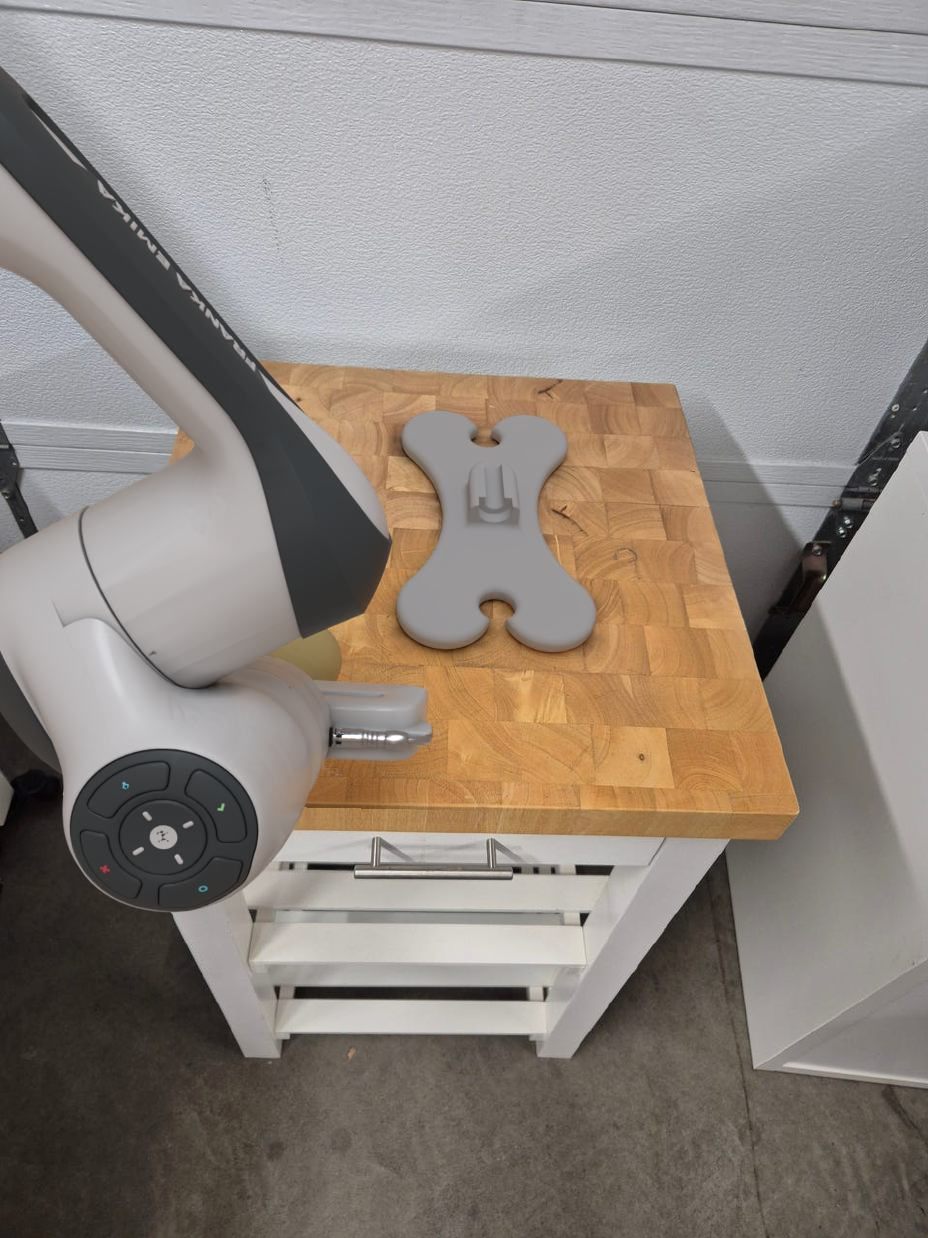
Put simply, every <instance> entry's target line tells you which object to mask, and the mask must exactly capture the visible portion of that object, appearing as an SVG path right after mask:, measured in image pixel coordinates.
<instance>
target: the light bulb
mask: <svg viewBox="0 0 928 1238" xmlns="http://www.w3.org/2000/svg"><path fill="white" fill-rule="evenodd" d="M266 656H271V657H275V658H279V659H282V660H285V661H287V662H289V663H291V664H293V665H295V666H296V667H298V668H300V669H301V670H302V671H304V672H305V673H306V674H307V675H308V676H309V677H311V679H312V680H323V681H337V680H338V679H339V675H340V673H341V670H342V661H343V660H342V659H343V658H342V651H341V648H340V645H339V642H338V641H337V639H336V637H335V636H334V634H333V633H332V631H330V630H329V628H328V629H326V630H323V631H321V632H319V633H316V634H314V635H312V636H309V637H307V638H305V639H303V638H302V637H300V638H298V639H296V640H294V641H292V642H290V643H288V644H287V645H285V646H283V647H281V648H279V649H277V650H275V651H273V652H271V653H269V654H268V655H266Z"/></svg>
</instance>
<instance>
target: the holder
mask: <svg viewBox="0 0 928 1238" xmlns="http://www.w3.org/2000/svg"><path fill="white" fill-rule="evenodd" d="M478 435H479V427H477V425H476V424H475V423H474V422H473V421H472V420H471V419H469V418H468V417H466V416H464V415H462V414H460V413H457V412H453V411H450V410H429V411H428V410H427V411H425V412H422V413H421V412H420V413H418V414H416V415H414V416H413V417H412V418H409V420H408V421H407V422H406V423H405V424H404V427H403V428H402V431H401V445H402V449H403V451H404V452H405V454H406V455H407V456H408V457H409V458H410V459H411V460H412V461H413V462H414V463H415V464H416V465H417V466H418V467H419V468H420V469H421V470H422V471H423V472H424V474H425V475H426V476H427V477H428V478H429V480H430V483H432V486H433V487H434V489H435V491H436V493H437V496H438V498H439V502H440V507H441V515H442V523H441V530H440V532H439V533H440V534H439V537H438V540H437V542H436V545H435V547H434V549H433V550H432V552H431V553H430V555H429V557H428V558H427V560H426V561H425V562H424V564H423V565H422V566H421V567H420V568H419V569H418V570H417V572H415V574H413V576H412V577H410V579H408V580H407V581H405V583H404V584H403V585H402V587H401V588H400V590H399V592H398V594H397V598H396V605H395V606H396V607H395V608H396V609H395V610H396V611H395V612H396V617H397V621H398V623H399V625H400V626H401V628H402V630H403V631H404V632H405V634H406V635H408V636H409V637H410V638H411V639H412V640H414V641H415V642H417V643H418V644H421V645H423V646H426V647H429V648H432V649H437V650H455V649H460V648H463V647H466V646H469V645H471V644H472V643H475V642H477V640H479V639H480V638H481V637H482V636H483V635H484V634H485V633H486V631H487V630H488V628H489V627H490V623H491V618H490V617H488V616H486V615H485V614H484V613H483V612H482V611H481V609H480V606H481V605H482V604H483V603H484V602H486V601H489V600H499V601H502V602H504V603H507V604H508V605H510V606H511V608H512V609H513V612H514V614H513V615H511V617H509V618H507V619H506V620H505V624H504V626H505V628H506V629H507V631H508V632H509V633H510V635H511V636H512V637H513V638H514V639H516V640H517V641H518V642H520V643H521V644H522V645H524V646H526V647H528V648H530V649H533V650H536V651H540V652H545V653H561V652H567V651H570V650H574V649H575V648H577V647H579V646H580V645H582V644H583V643H585V642H586V641H587V640H588V639H589V637H590V636H591V635H592V633H593V631H594V628H595V625H596V622H597V607H596V604H595V602H594V599H593V598H592V596H591V594H590V593H589V592H588V590H587V589H586V588H585V587H584V586H583V585H582V584H581V583H579V582H578V581H577V580H576V579H575V578H574V577H572V575H570V574H569V572H568V571H567V570H566V569H565V568H564V567H563V566H562V564H561V563H560V562H559V561H558V560H557V558H556V556H555V555H554V554H553V552H552V551H551V549H550V547H549V546H548V544H547V541H546V539H545V537H544V534H543V531H542V528H541V524H540V520H539V508H538V506H539V499H540V494H541V491H542V489H543V487H544V486H545V484H546V482H547V480H548V478H549V477H550V476H551V474H553V472H555V470H556V469H558V467H560V465H562V464H563V462H564V461H565V459H566V457H567V455H568V450H569V442H568V438H567V436H566V434H565V432H564V431H563V429H561V428H560V427H559V426H558V425H557V424H555V423H554V422H553V421H551V420H548V419H546V418H544V417H540V416H536V415H530V414H517V415H511V416H508V417H505V418H503V419H501V420H500V421H498V422H497V423H496V424H495V425H494V426H493V427H492V429H491V432H490V437H491V438H492V439H493V440H495V441H496V442H497V443H499V444H497V445H494V446H489V447H488V446H481V445H479V444H476V443H475V442H473V441H472V440H473V439H475V438H477V437H478Z"/></svg>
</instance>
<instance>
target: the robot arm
mask: <svg viewBox="0 0 928 1238" xmlns="http://www.w3.org/2000/svg"><path fill="white" fill-rule="evenodd" d="M0 268H1V269H3V270H5V271H8V272H11V273H13V274H15V275H17V276H18V277H20V278H22V279H23V280H25V281H27V282H29V283H31V284H33V285H34V286H35V287H37V288H38V289H40V290H41V291H43V292H44V293H45V294H46V295H48V296H49V297H50V298H51V299H53V300H54V302H56V303H57V304H58V305H60V306H61V308H63V309H64V310H65V311H66V312H67V313H68V314H69V315H70V316H71V317H72V318H73V320H75V321H76V323H78V325H79V326H80V327H81V328H82V329H83V330H84V331H85V332H86V333H87V334H88V335H89V336H90V337H91V338H92V339H93V340H94V341H95V342H96V343H97V344H98V345H99V346H100V347H101V349H103V351H104V352H106V353H107V354H108V356H110V358H111V359H112V360H113V361H114V362H115V363H116V364H117V365H118V366H119V367H120V368H121V369H122V370H123V371H124V372H125V373H126V374H127V375H128V377H130V378H131V379H132V380H133V382H135V383H136V384H137V385H138V386H139V388H141V389H142V391H144V393H145V394H146V395H147V396H148V397H149V398H150V399H151V400H152V401H153V402H154V403H155V405H157V406H158V407H159V408H160V409H161V410H162V411H163V412H164V413H165V414H166V415H167V416H168V417H169V419H170V420H171V421H173V423H175V424H176V425H177V427H178V428H179V429H180V430H181V431H182V432H183V433H184V434H185V435H186V436H187V437H188V438H189V439H190V440H191V441H192V442H193V443H194V445H193V447H192V448H191V449H190V450H189V451H188V452H187V453H186V454H184V455H183V456H181V457H180V458H178V459H176V460H174V461H172V462H171V463H169V464H167V465H165V466H163V467H162V468H159V469H158V470H156V471H154V472H152V473H150V474H149V475H147V476H145V477H143V478H141V479H139V480H137V481H136V482H134V483H132V484H130V485H128V486H126V487H124V488H122V489H121V490H119V491H116V492H115V493H112V494H111V495H109V496H107V497H105V498H104V499H101V500H100V501H97V502H96V503H94V504H92V505H86V506H84V507H83V508H80V509H78V510H77V511H74V512H73V513H71V514H69V515H68V516H65V517H63V518H62V519H60V520H57V521H56V522H54V523H52V524H50V525H48V526H46V527H44V528H42V529H40V530H39V531H37V532H35V533H34V534H32V535H30V536H29V537H27V538H25V539H23V540H21V541H19V542H18V543H16V544H14V545H13V546H10V547H9V548H8V549H6V550H4V551H1V552H0V714H1V715H2V716H3V718H4V719H5V721H6V722H7V724H8V725H9V727H10V728H11V729H12V730H13V731H14V733H15V734H16V735H17V737H18V738H19V739H20V740H21V741H22V742H23V743H24V744H25V745H26V746H27V747H28V748H29V750H30V751H31V752H33V754H35V755H36V756H37V758H39V760H41V761H42V762H44V763H45V764H47V765H48V766H49V767H50V768H52V769H53V770H55V771H56V772H57V773H58V774H60V775H62V781H63V782H62V784H63V792H62V793H63V795H62V796H63V797H62V825H63V833H64V837H65V840H66V843H67V846H68V849H69V852H70V854H71V856H72V858H73V860H74V862H75V863H76V865H77V866H78V868H79V869H80V870H81V872H82V874H83V875H84V876H85V877H86V879H87V880H88V881H89V882H90V884H92V885H93V886H94V887H95V888H97V889H98V890H99V891H100V892H102V894H105V895H106V896H108V897H109V898H111V899H113V900H115V901H117V902H119V903H122V904H124V905H127V906H130V907H133V908H136V909H139V910H144V911H150V912H159V913H184V912H192V911H195V910H200V909H205V908H208V907H210V906H211V907H212V906H214V905H217V904H219V903H221V902H224V901H225V900H227V899H230V898H232V897H234V896H235V895H236V894H238V893H239V892H241V891H242V890H244V889H245V888H247V887H248V886H249V885H250V884H251V883H252V882H254V881H255V880H256V879H257V878H258V877H259V876H260V875H261V874H262V873H263V872H264V871H265V869H267V867H268V866H269V865H270V864H271V863H272V862H273V860H275V858H276V856H277V855H278V854H279V853H280V852H281V850H282V849H283V847H284V846H285V844H286V843H287V841H288V839H289V838H290V837H291V835H292V833H293V831H294V830H295V828H296V827H297V824H298V822H299V820H300V819H301V816H302V814H303V811H304V809H305V807H306V804H307V801H308V799H309V794H310V793H311V791H313V788H314V786H315V784H316V782H317V780H318V777H319V775H320V773H321V771H322V769H323V766H324V764H325V762H326V760H327V759H329V760H331V759H332V760H350V761H354V760H355V761H369V762H370V761H373V762H399V761H404V760H408V759H410V758H413V757H414V756H415V755H416V754H417V753H418V752H419V751H420V749H421V748H422V747H423V746H428V745H430V744H431V743H432V740H433V738H434V728H433V726H432V724H431V723H429V722H428V709H429V691H428V690H427V689H426V688H424V687H421V686H417V685H412V684H393V683H377V682H375V683H374V682H358V681H357V682H356V681H340V680H338V681H337V680H336V681H323V680H312V679H311V677H309V676H308V675H307V674H306V673H305V672H304V671H302V670H301V669H300V668H298V667H296V666H295V665H293V664H291V663H289V662H287V661H285V660H282V659H279V658H275V657H271V656H266V655H268V654H269V653H271V652H273V651H275V650H277V649H279V648H281V647H283V646H285V645H287V644H288V643H290V642H292V641H294V640H296V639H298V638H300V637H302V638H303V639H305V638H307V637H309V636H312V635H314V634H316V633H319V632H321V631H323V630H326V629H328V630H329V629H330V628H333V627H336V626H338V625H340V624H342V623H344V622H347V621H349V620H351V619H354V618H356V617H359V616H361V615H363V614H365V612H366V611H367V609H368V607H369V606H370V604H371V602H372V600H373V598H374V596H375V594H376V592H377V590H378V587H379V585H380V583H381V581H382V578H383V575H384V573H385V570H386V568H387V564H388V561H389V558H390V554H391V551H392V547H393V537H392V535H391V534H390V531H389V526H388V521H387V517H386V515H385V511H384V507H383V505H382V503H381V501H380V499H379V496H378V494H377V492H376V491H375V489H374V487H373V485H372V483H371V481H370V480H369V478H368V477H367V475H366V474H365V472H364V471H363V469H362V468H361V467H360V466H359V464H358V463H357V461H356V460H355V458H354V457H353V456H351V454H350V453H349V452H348V451H347V450H346V449H345V448H344V447H343V446H342V444H340V443H339V442H338V441H337V440H336V439H335V438H334V437H333V436H331V434H329V433H328V432H327V431H326V430H324V429H323V428H322V427H321V426H320V425H319V424H318V423H316V422H315V421H314V420H313V419H311V418H310V416H308V414H307V413H306V412H305V411H304V410H303V409H302V408H301V407H300V405H298V403H297V402H295V400H294V399H293V398H292V397H291V396H290V395H289V394H288V393H287V391H286V390H285V389H283V387H282V386H281V385H280V384H279V383H278V382H277V380H275V378H274V377H273V376H272V374H270V373H269V372H268V370H267V369H266V367H264V366H263V364H262V363H261V362H260V361H259V360H258V359H257V357H256V356H255V354H253V352H252V351H251V350H250V349H249V348H248V347H247V346H246V344H245V343H244V342H243V341H242V340H241V338H240V337H239V336H238V335H237V334H236V332H235V331H234V330H233V329H232V328H231V327H230V325H229V324H228V323H227V322H226V321H225V319H223V317H222V316H221V314H220V313H219V312H218V311H217V310H216V309H215V308H214V307H213V305H212V304H211V303H210V302H209V300H208V299H207V298H206V297H205V295H204V294H203V293H202V292H201V291H200V289H199V288H197V286H196V285H195V284H194V283H193V281H192V280H191V279H190V278H189V277H188V275H187V274H186V273H185V272H184V271H183V269H182V268H181V267H180V266H179V265H178V263H177V262H176V261H175V260H174V259H173V258H172V257H171V255H170V254H169V252H167V251H166V250H165V248H164V247H163V246H162V245H161V243H160V242H159V241H158V240H157V238H155V236H154V235H153V234H152V233H151V232H150V230H149V228H147V226H145V224H144V223H143V222H142V221H141V220H140V219H139V217H138V216H137V215H136V213H134V211H133V210H132V209H131V208H130V207H129V206H128V204H127V203H126V202H125V201H124V200H123V199H122V197H121V196H120V195H119V194H118V193H117V192H116V190H115V189H114V188H113V187H112V186H111V185H110V184H109V182H108V181H107V180H106V179H105V177H103V176H102V175H101V173H100V172H99V171H98V170H97V169H96V167H94V165H93V164H92V163H91V162H90V161H89V159H87V157H86V156H85V155H84V153H82V152H81V151H80V149H79V148H78V147H77V146H76V145H75V144H74V143H73V141H72V140H71V139H70V138H69V137H68V136H67V134H66V133H65V132H63V130H62V129H61V128H60V127H59V126H58V124H56V122H55V121H54V120H53V119H52V118H51V117H50V116H49V115H48V114H47V112H46V111H45V110H44V109H43V107H41V105H39V104H38V103H37V101H35V99H34V98H33V97H32V96H31V95H30V94H29V93H28V92H27V90H25V89H24V88H23V87H22V85H21V84H19V82H17V80H16V79H15V78H14V77H13V76H12V75H11V74H10V73H8V71H6V69H4V68H3V67H2V66H1V65H0Z"/></svg>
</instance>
